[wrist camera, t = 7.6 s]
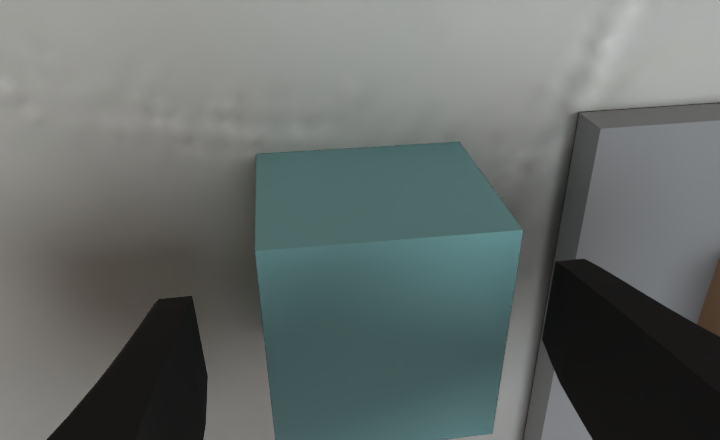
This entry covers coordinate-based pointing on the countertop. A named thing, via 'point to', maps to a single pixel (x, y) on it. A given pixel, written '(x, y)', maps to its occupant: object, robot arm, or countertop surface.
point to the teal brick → (383, 291)
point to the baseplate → (636, 223)
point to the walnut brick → (712, 305)
